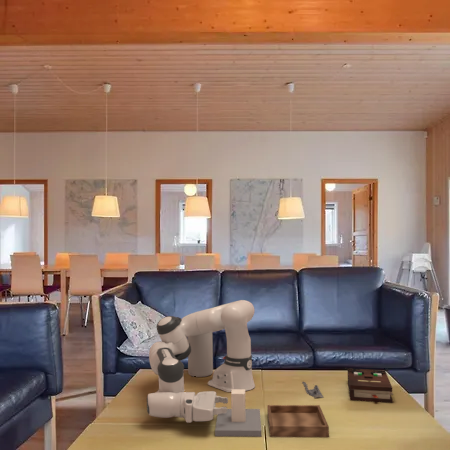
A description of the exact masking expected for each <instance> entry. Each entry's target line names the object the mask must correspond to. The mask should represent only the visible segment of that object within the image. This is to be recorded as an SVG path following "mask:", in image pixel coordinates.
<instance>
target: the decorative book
mask: <svg viewBox="0 0 450 450" xmlns="http://www.w3.org/2000/svg"><path fill="white" fill-rule="evenodd" d="M344 369H345V370H347V385H348V393H349V395H348V396H349V401H351V402H353V401H354V402H365V403H366V402H368V403H381V404H382V403H383V404H393V402H394V401H393V397H392V396H393V395H394V393H393V387H392V384H391V381H390V378H389V376H388V374H387V372H389V370H388V369H369V368H368V369H367V368H350V367H349V368H348V367H345V368H344Z"/></svg>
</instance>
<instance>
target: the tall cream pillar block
mask: <svg viewBox="0 0 450 450" xmlns="http://www.w3.org/2000/svg"><path fill="white" fill-rule="evenodd" d="M230 396H231V397H230V399H231V408H230V409H232V422H246V413H245V409H246V391H245V389H232V392H231V395H230Z"/></svg>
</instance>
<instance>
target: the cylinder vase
mask: <svg viewBox="0 0 450 450" xmlns="http://www.w3.org/2000/svg"><path fill="white" fill-rule="evenodd" d="M187 339H188V342H189V343H190V346H191V353H190V355H189V356H188V357H187V369H188V371H187V372H188V373H187V374H188V375H189V376H191V377H194V376H196V377H195V378H203V377H204V378H205V377H209V376H211V375H213V373H214V363H213V362H214V359H213V357H214V355H213V352H214V351H213V348H214V347H213V342H214V341H213V332H211V333H207V334H202V335H195V336H188V337H187Z"/></svg>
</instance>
